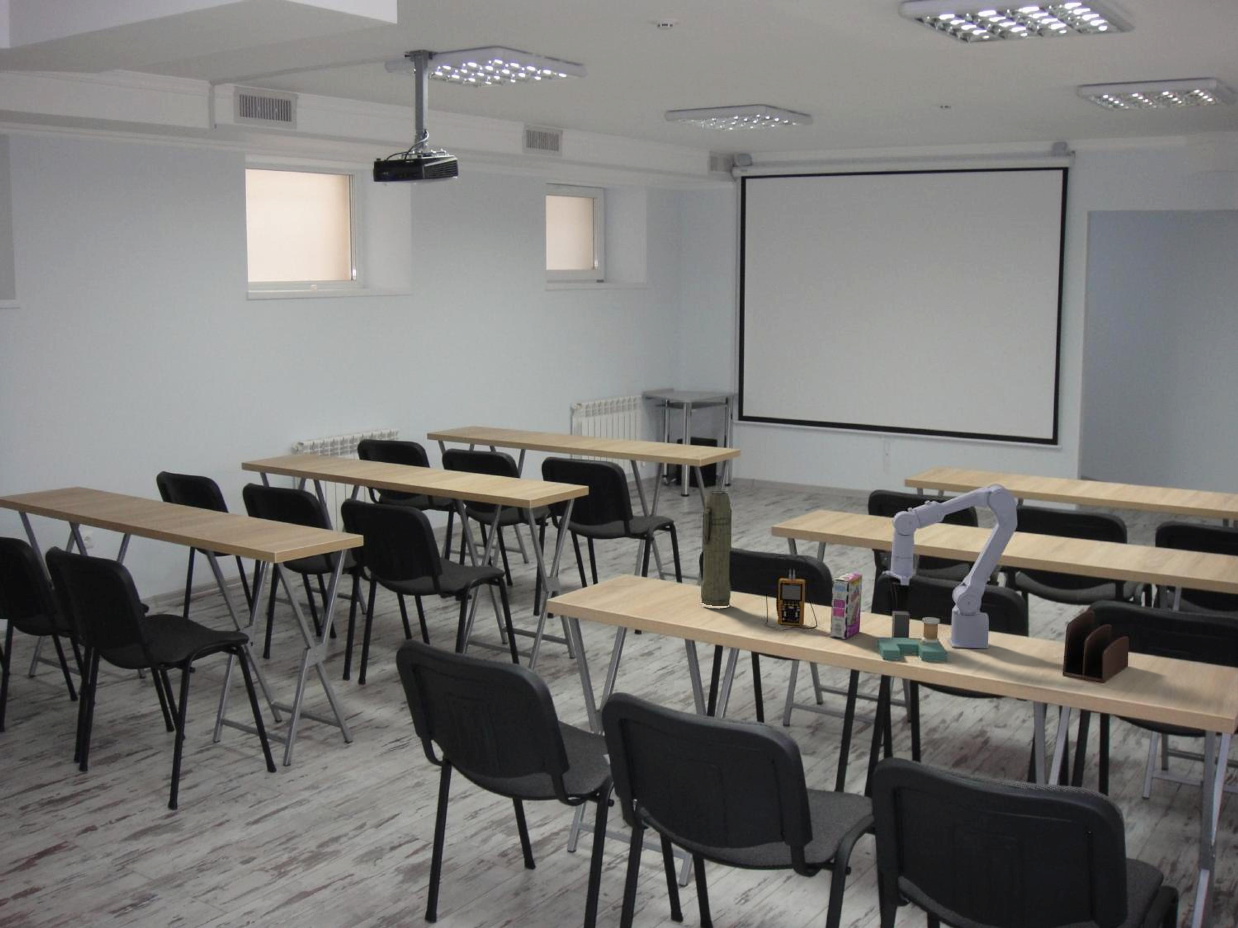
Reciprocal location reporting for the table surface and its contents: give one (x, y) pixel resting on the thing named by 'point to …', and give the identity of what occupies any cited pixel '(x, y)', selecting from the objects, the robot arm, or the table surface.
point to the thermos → (716, 549)
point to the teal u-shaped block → (915, 644)
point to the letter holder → (1093, 650)
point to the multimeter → (790, 600)
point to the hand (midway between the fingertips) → (899, 605)
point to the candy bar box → (846, 605)
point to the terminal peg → (900, 624)
